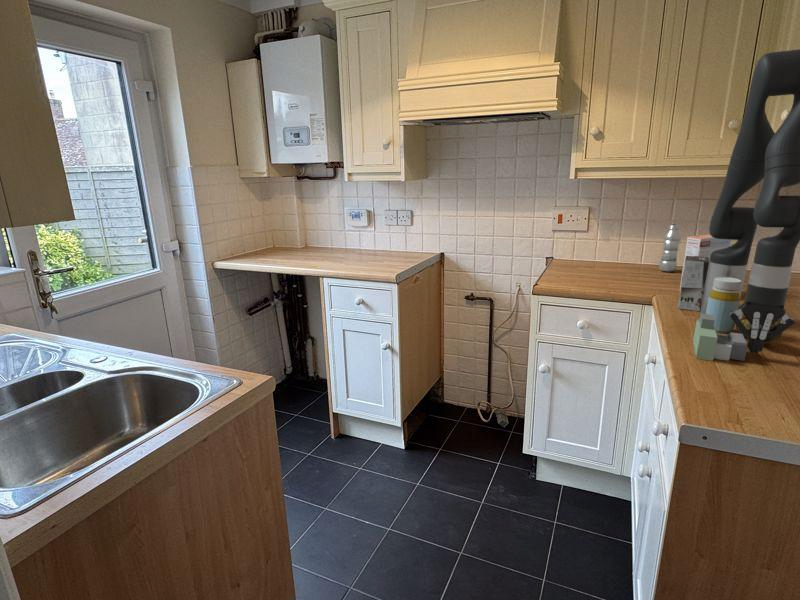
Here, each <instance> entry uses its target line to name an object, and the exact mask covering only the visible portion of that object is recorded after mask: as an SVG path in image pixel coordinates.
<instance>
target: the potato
mask: <svg viewBox="0 0 800 600" xmlns="http://www.w3.org/2000/svg"><path fill="white" fill-rule="evenodd" d="M740 320H741V322H742V323H743V324H744V326H745V327H746V328H747V329H750V322H749V321H748V320H747V319H740ZM779 323H780V322H779V321H776V322H775V323H774V324H772V325H770V328H769V330H770V329H772V328H773V327H774V326H776V325H777V324H779ZM759 327H760V325H759ZM759 327H758V331H759ZM735 328H736V333H739V334H742V332H741V331H740V329H739V328H738V327H737V325H736V324H735ZM743 336H744V338H745V339H748V340H749V336H747V335H743ZM757 336H758V332H757ZM781 336H783V332H782V333H781V334H779V335H778V336H776V337H775V338H767V339H765V340H764V344H771V343H775V342H776V341H778V340H779V339H780V338H781Z"/></svg>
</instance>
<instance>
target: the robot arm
mask: <svg viewBox="0 0 800 600" xmlns="http://www.w3.org/2000/svg"><path fill="white" fill-rule="evenodd" d="M791 95H793V101H792V106H791V109H790V111H789V113H788V114H787V116H786V118H784V120H783V122H782V123H781V125H780V126H779V127H778V128H777V130H776V131H774V129H773V127H772V126H771V124H770V122H769V120H768V117H767V113H766V104H767V100H768V98H769V97H775V96H776V97H779V96H791ZM745 105H746V106H745V109H744V115H743V118H742V122H741V126H740V128H739V131H738V134H737V137H736V141H735V143H734V147H733V149H732V153H731V156H730V159H729V163H728V167H727V171H726V176H725V179H724V182H723V186H722V189H721V193H720V195H719V198H718V200H717V202H716V204H715V208H714V211H713V213H712V216H711V219H710V221H709V222H710V223H709V229H708V230H709V231H708V232H709V235H711V236H712V237H713V238H717V239H730V240H734V241H736V242H735V243H734V244H732V245H730V247H727V248H724V249H720V250H716V251H713V252H712V253H711V256H710V262H709V268H708V273H707V279H706V284H705V290H704V295H703V298H702V303H701V307H700V311H699V312H700V313H699V317H700V316H701V313H703V314H706V310H707V305H708V299H709V295H710V293H711V291H712V290H713V283H714V279H715V277H730V278H736V279H739V280H741V286H740V291H739V295H740V299H741V298H742V297H741V296H742V292H743V288H744V283H745V278H746V274H747V273H746V272H747V267H748V263H749V258H750V254H751V250H752V246H753V242H754V238H755V234H756V232H757V228H758V226H760V227H762V228H782V230H781V231H780V232H779V233H777V234H776V235H773V236H768V237H763V238H760V239H759V240H758V242H757V244H756V249H755V252H754V258H753V264H752V265H751V269H750V272H749V277H748V281H747V287H746V292H745V297H744V302H743V303H742V304H741V306H740V305H739V306H738V310H736V311H731V312H730V313H729V315H730V317H731V318H732V320H733V321H734V322H735V326H736V325H737V327H738V328H739V329H740V331H741V332H742V334H743V335H747V336H749V339H748V340H747V346H748V347H747V350H748V351H749V352H750V353H751V354H759V353H760V352H763V349H764V345H765V343H764V340H765V339H767V338H775V337H776V336H778V335H779V334H781V333H782V334H783V332H785V331H787V329H789V328H791V327H793V325H795V322H796V321H795V320H794V319H793V318H792V317H790V316H788V315H787V314H786V309H785V304H786V300H787V296H788V290H789V287H790V284H791V276H792V266H793V262H794V258H795V257H794V256H795V252H796V250H797V249H796V248H797V247H798V245H799V243H800V195H798V194H797V195H780V191H781V189H783V188H788V187H792V186H793V187H794V186H796V185H798V184H800V49H791V50H783V51H773V52H768V53H764V54H763V55H761V57H760V58H759V59H758V61H757V62H756V65H755V67H754V71H753V74H752V78H751V83H750V87H749V92H748V96H747V101H746V104H745ZM762 180H763V182H762V185H761V188H760V189H761V190H760V192H759V194H758V198H757V200H756V203H755V205H754V207H745V206H743V207H742V206H734V205H735V204H736V203H737V201H738V200H739V199H740V198H741V197H742V196H743V195H744V194H746V193H747V192H748V191H750V190H751V189H752V188H754V187H755V186H756V185H758V184H759V183H760V182H761V181H762ZM740 301H741V300H740ZM740 301H739V304H740ZM739 307H740V308H739ZM743 316H744V317H745V320H748V321H749V322H750V329H747V328H746V327H745V326H744V324H743V323H742V322H741V320H743ZM776 321H777V322H778V323H779V324H777V325H776V326H774V327H773V328H772V329H770V330H769V328H770V325H772V324H774V323H775V322H776ZM759 325H760V327H759ZM758 327H759V331H758ZM757 332H758V336H757Z"/></svg>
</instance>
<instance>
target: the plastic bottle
mask: <svg viewBox="0 0 800 600" xmlns="http://www.w3.org/2000/svg"><path fill="white" fill-rule="evenodd" d="M679 230H680V224H677V223H671V224H669V225H668V231H667V232H666V233H665V234H664V235H663V248H662V249H663V250H662V255H661V258H660V261H659V264H658V268H659V270H660V271H662V272H666V273H667V272H668V273H670V272H675V271H676V269H677V264H678V262H677V257H678V250H679V248H680V247H679V246H680V243H681V240H682V235H681V233H680V231H679Z"/></svg>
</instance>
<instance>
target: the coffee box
mask: <svg viewBox="0 0 800 600" xmlns="http://www.w3.org/2000/svg"><path fill="white" fill-rule="evenodd" d="M708 266H709V259H708V257H700V256H686V259H685V265H684V271H683V277H682V283H681V282H680V283H681V289H680V288H679V290H680V294H679V298H678V303H677V308H678V309H680V310H681V309H682V310H686V311H688V310H689V311H693V312H694V311H696V312H700V311H701V305H702V300H703V293H704V287H705V282H706V277H707V271H708Z"/></svg>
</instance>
